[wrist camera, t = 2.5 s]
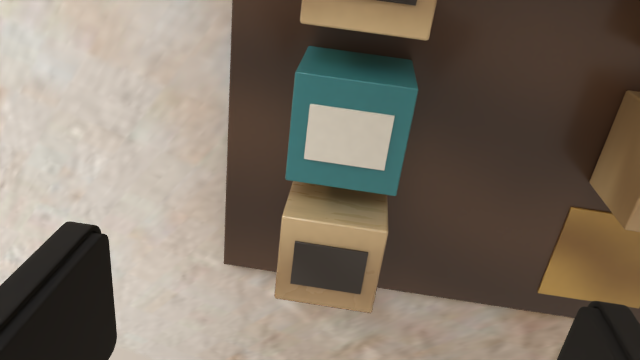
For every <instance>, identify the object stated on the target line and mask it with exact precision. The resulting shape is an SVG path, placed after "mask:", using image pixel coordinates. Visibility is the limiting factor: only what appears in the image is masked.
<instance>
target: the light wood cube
mask: <svg viewBox="0 0 640 360" xmlns="http://www.w3.org/2000/svg"><path fill="white" fill-rule="evenodd" d="M436 3H437V0H302V4H301V15H300V22H301V23H302V24H308V25H315V26H323V27H330V28H337V29H344V30H352V31H359V32H366V33H374V34H381V35H388V36H396V37H403V38H410V39H417V40H425V41H426V40H428V39H429V37H430V32H431V27H432V22H433V17H434V13H435V8H436Z"/></svg>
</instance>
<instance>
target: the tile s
mask: <svg viewBox="0 0 640 360" xmlns="http://www.w3.org/2000/svg"><path fill="white" fill-rule="evenodd" d="M417 95H418V86H417V81H416V76H415V72H414V67H413V62H412V60H408V59H401V58H394V57H386V56H379V55H372V54H365V53H357V52H350V51H343V50H336V49H329V48H321V47H314V46H308V48H307V50H306V52H305V54H304V56H303V58H302V60H301V62H300V64H299V66H298V68H297V70H296V72H295V78H294V89H293V100H292V111H291V121H290V132H289V143H288V154H287V165H286V175H285V179H286V180H289V181H296V182H303V183H309V184H316V185H323V186H330V187H336V188H343V189H350V190H357V191H364V192H370V193H377V194H384V195H391V196H396V195H397V190H398V185H399V180H400V176H401V171H402V166H403V161H404V157H405V152H406V147H407V142H408V138H409V133H410V128H411V123H412V118H413V114H414V109H415V104H416V99H417Z"/></svg>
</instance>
